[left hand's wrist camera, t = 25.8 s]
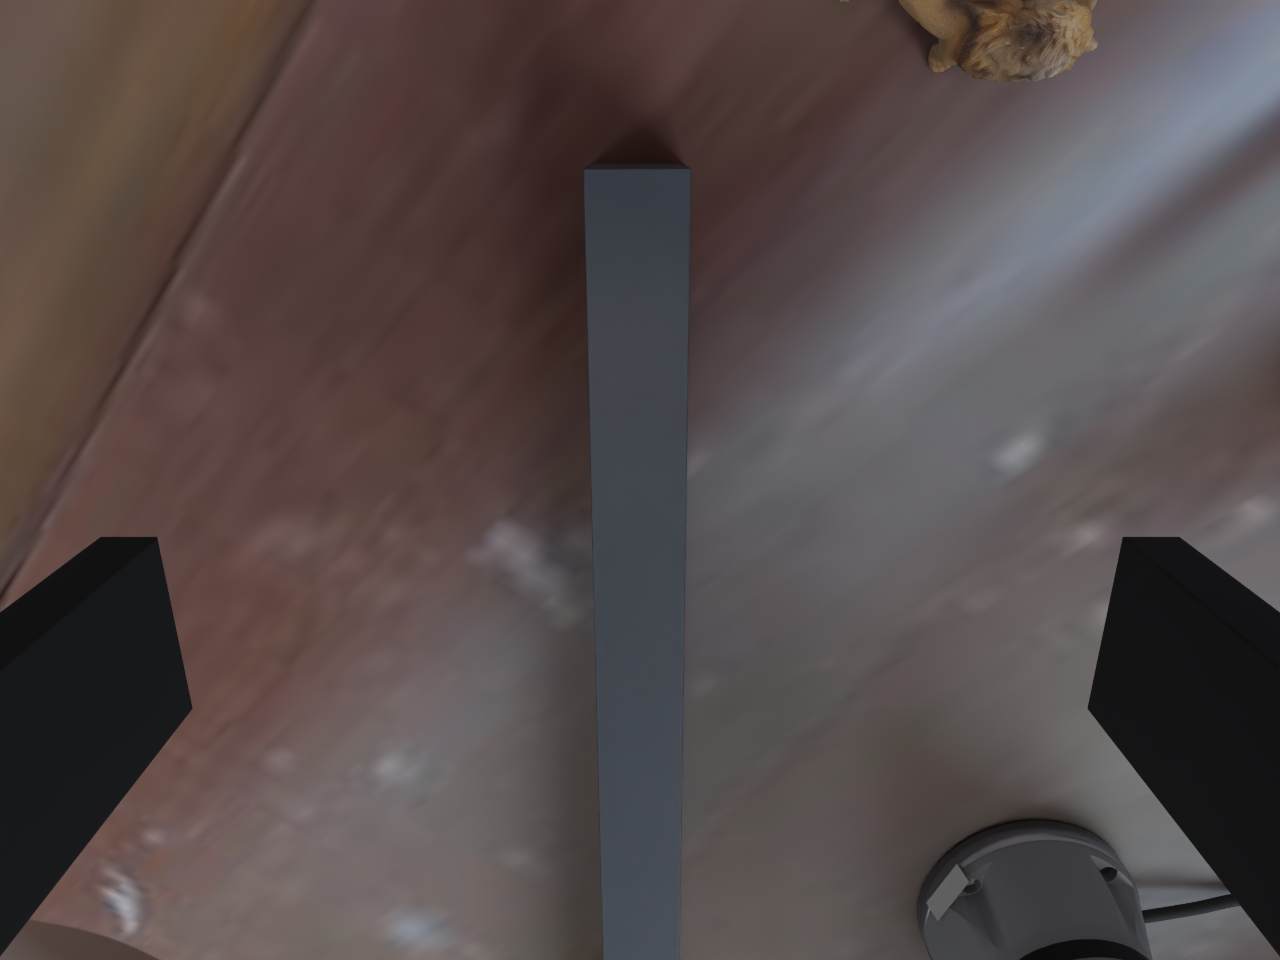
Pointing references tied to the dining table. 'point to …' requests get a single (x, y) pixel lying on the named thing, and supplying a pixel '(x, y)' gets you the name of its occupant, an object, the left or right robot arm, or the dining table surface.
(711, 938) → the dining table surface
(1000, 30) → the lion figurine
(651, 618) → the post
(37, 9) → the dining table surface
